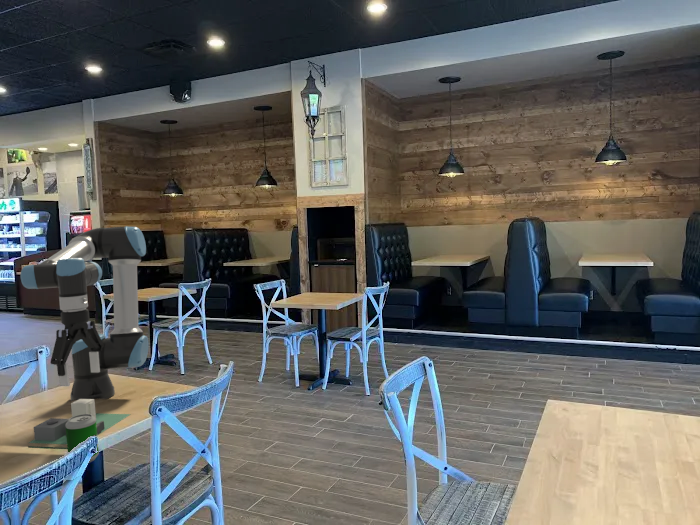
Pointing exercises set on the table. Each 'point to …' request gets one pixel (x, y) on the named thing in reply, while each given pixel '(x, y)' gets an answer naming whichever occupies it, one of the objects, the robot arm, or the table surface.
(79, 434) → the soda can
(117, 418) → the board
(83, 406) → the plug
